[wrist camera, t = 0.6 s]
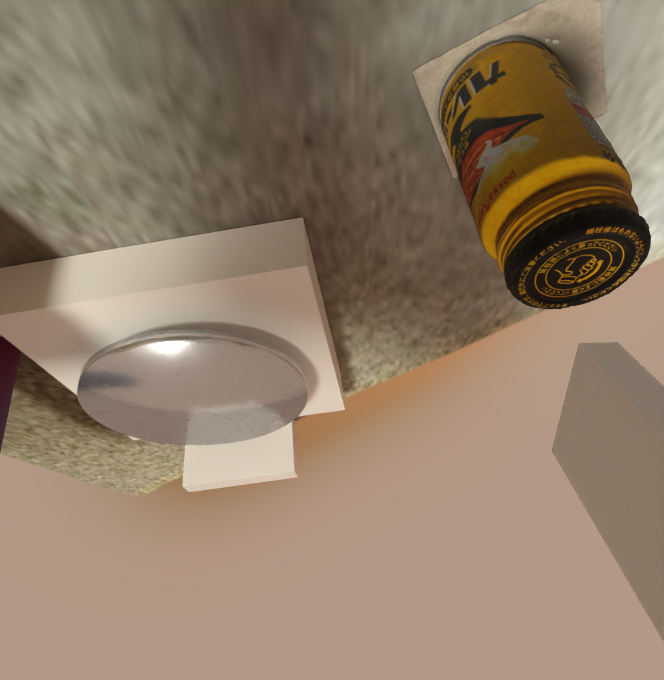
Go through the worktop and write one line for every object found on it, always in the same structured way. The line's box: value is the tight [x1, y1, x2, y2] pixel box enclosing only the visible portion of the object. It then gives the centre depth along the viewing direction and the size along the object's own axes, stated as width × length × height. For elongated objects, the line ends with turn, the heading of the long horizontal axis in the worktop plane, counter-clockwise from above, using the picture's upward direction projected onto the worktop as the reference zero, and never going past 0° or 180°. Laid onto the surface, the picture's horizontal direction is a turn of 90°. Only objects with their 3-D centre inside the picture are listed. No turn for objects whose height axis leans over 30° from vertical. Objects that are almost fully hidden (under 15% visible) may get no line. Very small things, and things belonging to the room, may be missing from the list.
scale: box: [0, 217, 345, 492], centre depth 39 cm, size 22×20×9 cm
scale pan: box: [77, 329, 308, 445], centre depth 37 cm, size 16×16×1 cm
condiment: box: [412, 0, 651, 309], centre depth 22 cm, size 7×8×12 cm
